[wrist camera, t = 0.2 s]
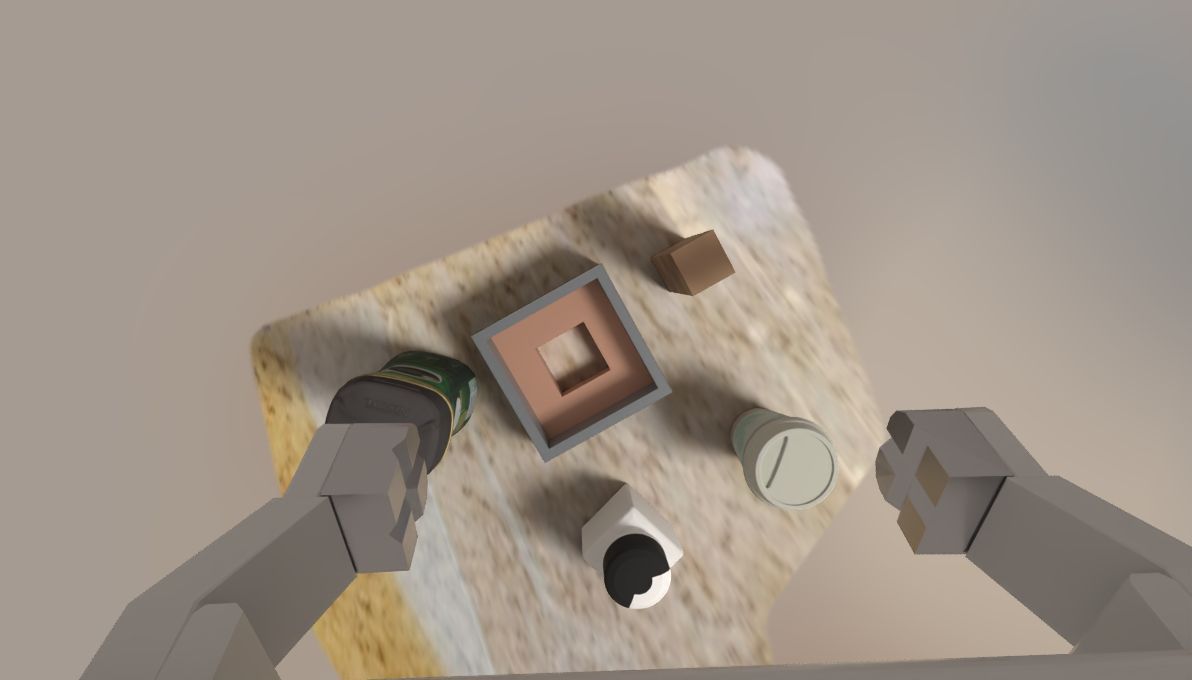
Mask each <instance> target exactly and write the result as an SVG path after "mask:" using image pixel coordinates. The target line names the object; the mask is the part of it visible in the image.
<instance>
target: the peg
mask: <svg viewBox="0 0 1192 680" xmlns="http://www.w3.org/2000/svg"><path fill="white" fill-rule="evenodd" d="M651 259H652V261H653V263H654V265H655V266H656V268H657V270H658V272H659V274H660V276H661V277H662V279H663V281H664V283H665V285H666V287H667V289H668V290H669V292H674V293H680V294H685V295H690V296H694V295H696V294H698V293H699V292H701V291H703V290H705V289H707V288H708V287H710V286H712V285H714V284H716V283H717V282H719V281H721V280H723V279H725V278H726V277H728V276H730V275H732V274H734V273H735V270H734V269H733V267H732V265H731V263H730V261H729V259H728V257H727V255H726V253H725V251H724V250H723V248H722V246H721V244H720V242H719V240H718V238H717V236H716V234H715V232H714V230H710V231H707V232H704V233H701V234H697V235H694V236H691V237H688V238H685V239H683V240H681V241H679V242H678V243H676V244H674V245H672V246H671V247H669V248H667V249H665V250H663V251H662V252H660V253H658V254H656V255H654V256H653V257H651Z"/></svg>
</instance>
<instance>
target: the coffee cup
mask: <svg viewBox="0 0 1192 680" xmlns="http://www.w3.org/2000/svg"><path fill="white" fill-rule="evenodd" d="M731 443H732V445H733V448H734V450H735V452H736V454H737V456H738V458H739V460H740V462H741V464H742V467H743V472H744V476H745V480H746V482H747V484H748V486H749V488H750V489H751V491H752V492H753V493H754V494H755V495H756V496H757V497H758V498H759V499H760V500H761V501H763V502H765V503H766V504H768V505H770V506H772V507H775V508H778V509H783V510H803V509H807V508H810V507H813V506H815V505H817V504H818V503H820V502H821V501H822V500H824V499H825V498H826V497H827V496H828V495H829V493H830V492H831V491H832V489H833V487H834V485H835V483H836V480H837V477H838V470H839V464H838V457H837V452H836V449H835V446H834V444H833V442H832V440H831V439H830V437H829V436H828V435H827V433H826V432H825V431H824V430H823V429H822V428H821V427H820V426H818V425H817V424H815V423H814V422H812V421H810V420H807V419H804V418H799V417H789V416H786V415H783V414H780V413H777V412H774V411H770V410H767V409H763V408H753V409H750V410H747V411H745V412H743V413H742V414H741V415H739V416H738V418H737V419H736V420H735V422H734V423H733V426H732V429H731Z"/></svg>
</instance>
